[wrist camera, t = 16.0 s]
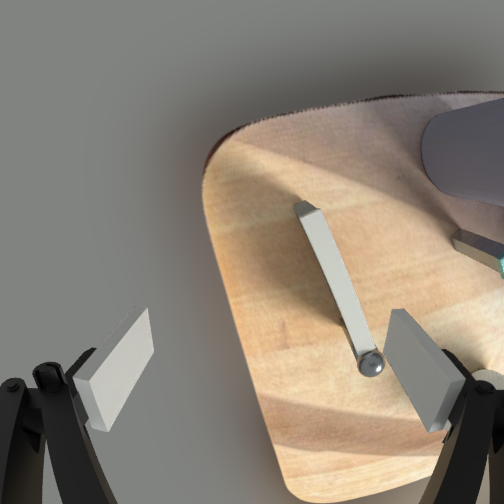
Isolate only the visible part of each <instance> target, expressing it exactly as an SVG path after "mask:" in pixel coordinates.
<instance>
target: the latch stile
mask: <svg viewBox="0 0 504 504" xmlns="http://www.w3.org/2000/svg"><path fill="white" fill-rule="evenodd" d="M450 238H451V241H452V243H453V245H454V248H455V250H456V251H458V252H460V253H462V254H465V255H467V256H469V257H471V258H473V259H474V260H476V261H478V262H480V263H482V264H484V265H486V266H488V267H490V268H492V269H494V270H496V271H498V272H499V273H500V274H501V278H502V279H504V245H503V244H501V243H498V242H495V241H493V240H490V239H488V238H485V237H482V236H480V235H477V234H474V233H472V232H469V231H466V230H463V229H459V230H458V231H457V232H456V233H455V234H453V235H452V236H451V237H450Z"/></svg>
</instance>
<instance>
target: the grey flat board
mask: <svg viewBox="0 0 504 504" xmlns="http://www.w3.org/2000/svg"><path fill="white" fill-rule="evenodd" d="M293 208H294V210H295V213H296V215H297V217H298V219H299V221H300V223H301V225H302V228H303V230H304V232H305V234H306V236H307V238H308V241H309V243H310V245H311V247H312V249H313V252H314V254H315V256H316V258H317V261H318V263H319V265H320V267H321V270H322V272H323V274H324V276H325V279H326V281H327V283H328V286H329V288H330V290H331V293H332V295H333V297H334V300H335V302H336V305H337V307H338V309H339V312H340V314H341V316H342V318H343V320H344V323H345V325H346V327H347V329H348V332H349V334H350V337H351V339H352V342H353V344H354V347H355V349H356V352H357V354H358V356H360V355H362V354H364V353H366V352H368V351H371V350H373V349H375V348H376V347H375V344H374V341H373V338H372V335H371V333H370V330H369V327H368V324H367V321H366V319H365V316H364V313H363V311H362V308H361V305H360V303H359V300H358V297H357V295H356V292H355V289H354V287H353V284H352V282H351V279H350V277H349V274H348V272H347V269H346V267H345V264H344V262H343V259H342V257H341V255H340V252H339V250H338V247H337V245H336V243H335V240H334V238H333V236H332V233H331V231H330V229H329V226H328V224H327V222H326V220H325V217H324V215H323V213H322V211H321V209H320V208H318V209H317V208H316V207H314V206H313V205H311V204H310V203H309V202H307V201H306V200H305V201H302V202H300V203H298V204H296V205H294V206H293Z"/></svg>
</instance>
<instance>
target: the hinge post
mask: <svg viewBox="0 0 504 504" xmlns="http://www.w3.org/2000/svg"><path fill="white" fill-rule="evenodd" d="M340 324H341V326H342V329H343V331H344V333H345V335H346V338H347V340H348V342H349V344H350V347H351V349H352V351H353V354H354V356H355V358H356V360H357V368H358V370H359V372H360V373H361V374H362V375H363V376H366V377H375V376H377V375H379V374H380V373H381V372H382V371H383V369H384V367H385V358H384V355H383V354H382V353H381V352H380V351H378V349H377V347H376V345H375V347H376V348H375V349H373V350H371V351H368V352H366V353H364V354H362V355H360V356H358V354H357V352H356V349H355V347H354V344H353V342H352V339H351V337H350V334H349V332H348V329H347V327H346V325H345V323H344V320H343V318H342V317H341V320H340Z"/></svg>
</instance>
